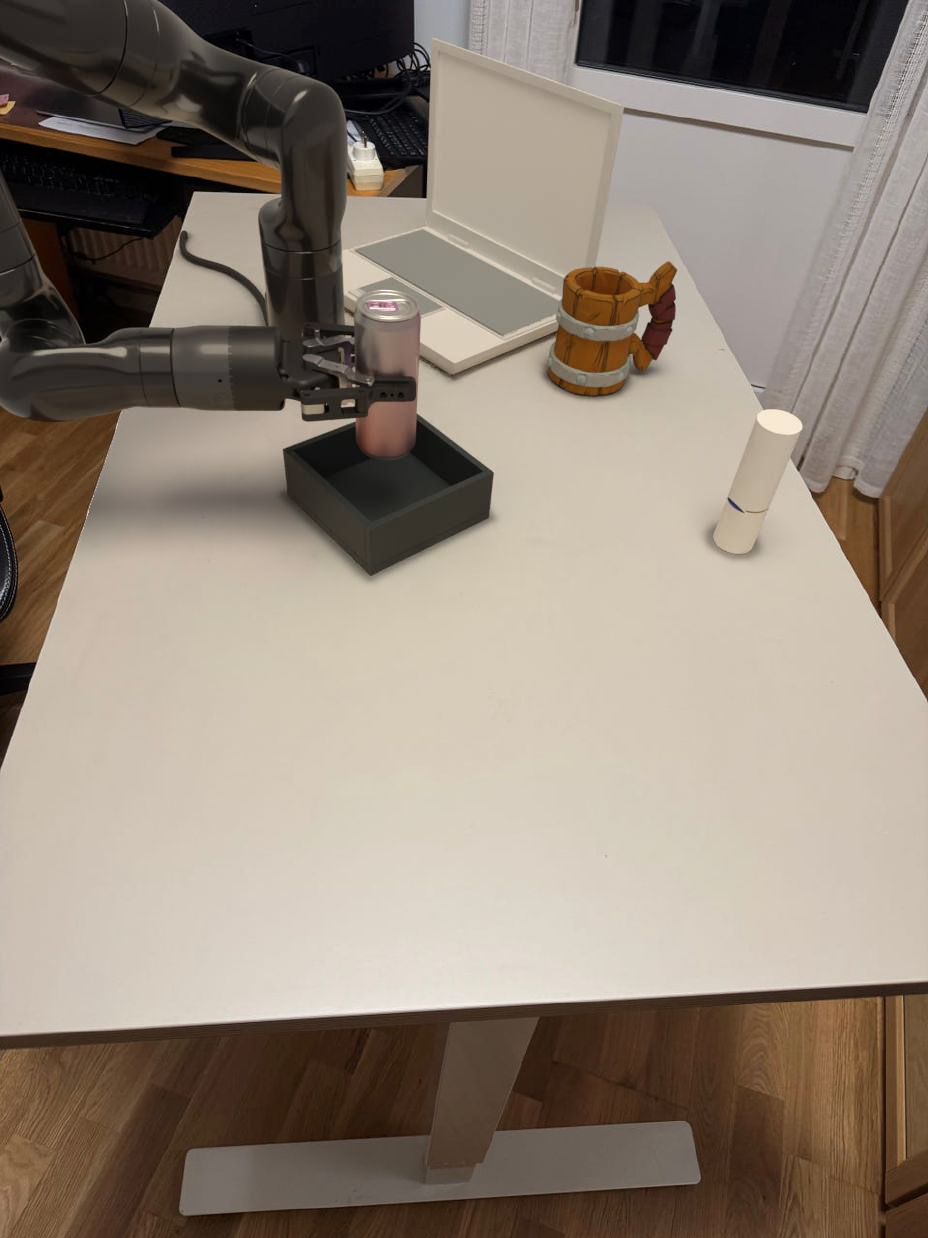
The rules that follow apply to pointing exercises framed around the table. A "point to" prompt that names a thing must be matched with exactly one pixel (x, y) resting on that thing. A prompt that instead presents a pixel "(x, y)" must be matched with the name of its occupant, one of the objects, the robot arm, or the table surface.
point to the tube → (756, 480)
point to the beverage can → (387, 369)
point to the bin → (387, 493)
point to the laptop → (496, 208)
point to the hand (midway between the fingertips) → (412, 370)
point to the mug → (609, 327)
